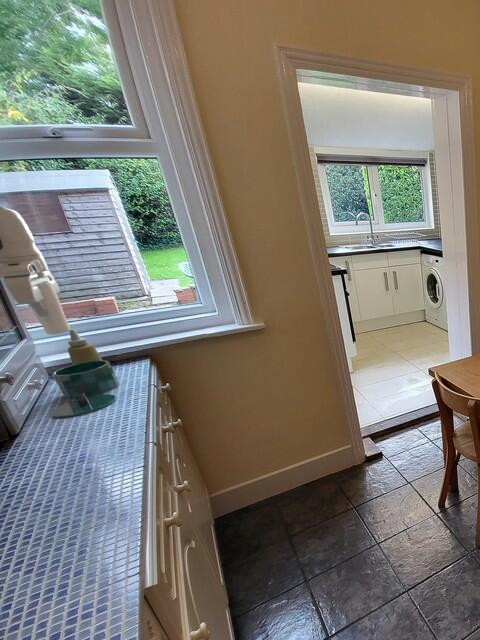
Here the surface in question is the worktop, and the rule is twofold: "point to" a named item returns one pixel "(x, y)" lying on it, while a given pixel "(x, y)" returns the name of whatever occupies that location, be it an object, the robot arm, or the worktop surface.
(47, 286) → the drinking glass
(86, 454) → the worktop surface
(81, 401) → the lid
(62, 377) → the pot
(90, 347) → the squeeze bottle
